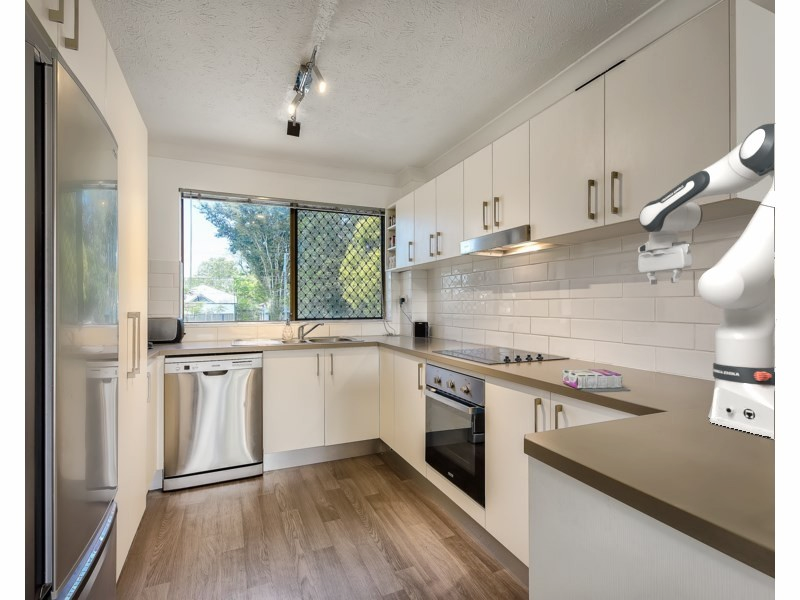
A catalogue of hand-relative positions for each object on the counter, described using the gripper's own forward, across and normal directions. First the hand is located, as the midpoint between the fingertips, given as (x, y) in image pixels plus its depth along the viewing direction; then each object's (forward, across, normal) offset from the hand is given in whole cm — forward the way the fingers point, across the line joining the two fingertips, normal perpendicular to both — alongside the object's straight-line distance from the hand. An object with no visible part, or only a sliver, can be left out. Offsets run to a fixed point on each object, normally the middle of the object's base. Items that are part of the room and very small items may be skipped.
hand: (663, 283), depth 140 cm
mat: (+37, +5, +23) cm, 44 cm away
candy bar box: (+34, +6, +16) cm, 38 cm away
